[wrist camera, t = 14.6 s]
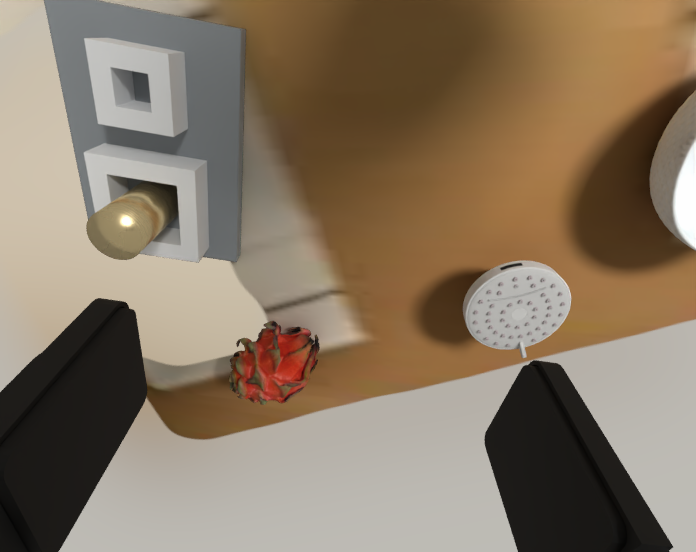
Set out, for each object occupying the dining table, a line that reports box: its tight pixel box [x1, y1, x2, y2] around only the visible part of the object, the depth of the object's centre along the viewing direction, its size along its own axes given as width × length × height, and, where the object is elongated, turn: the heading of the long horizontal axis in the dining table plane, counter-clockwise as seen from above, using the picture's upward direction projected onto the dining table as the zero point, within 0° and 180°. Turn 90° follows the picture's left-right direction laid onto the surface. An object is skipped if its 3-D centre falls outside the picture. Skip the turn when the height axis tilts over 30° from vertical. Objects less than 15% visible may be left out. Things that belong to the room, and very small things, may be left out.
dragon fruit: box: [229, 321, 320, 405], centre depth 44 cm, size 8×8×12 cm
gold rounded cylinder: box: [87, 180, 179, 260], centre depth 32 cm, size 4×4×8 cm
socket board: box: [44, 0, 246, 262], centre depth 33 cm, size 20×14×4 cm
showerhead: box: [463, 261, 571, 358], centre depth 38 cm, size 9×7×10 cm
